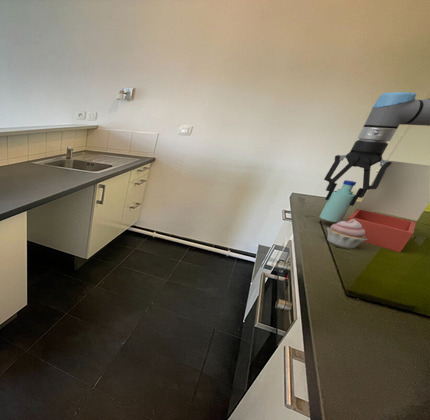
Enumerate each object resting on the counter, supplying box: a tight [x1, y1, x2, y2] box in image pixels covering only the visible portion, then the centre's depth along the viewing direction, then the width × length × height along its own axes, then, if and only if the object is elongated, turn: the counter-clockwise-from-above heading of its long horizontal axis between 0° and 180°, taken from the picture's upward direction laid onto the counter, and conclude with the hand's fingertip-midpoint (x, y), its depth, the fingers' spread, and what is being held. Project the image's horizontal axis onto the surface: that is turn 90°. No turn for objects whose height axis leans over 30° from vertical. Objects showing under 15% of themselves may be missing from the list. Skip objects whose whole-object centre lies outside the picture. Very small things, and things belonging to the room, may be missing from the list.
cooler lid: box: [357, 159, 430, 222], centre depth 88 cm, size 19×14×1 cm
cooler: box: [346, 208, 417, 253], centre depth 88 cm, size 18×14×8 cm
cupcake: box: [326, 219, 367, 251], centre depth 82 cm, size 9×9×10 cm
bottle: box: [319, 179, 357, 223], centre depth 94 cm, size 6×6×16 cm
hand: (339, 202), depth 95 cm, fingers closed on bottle, 6 cm apart
